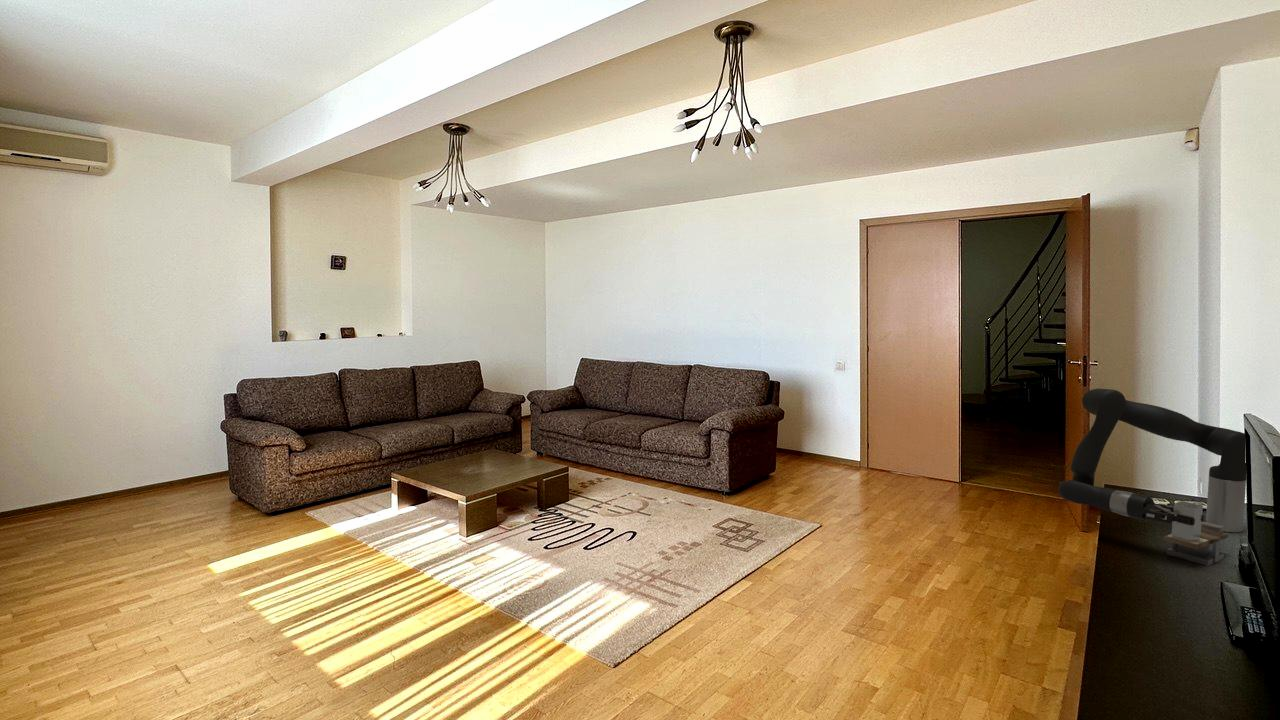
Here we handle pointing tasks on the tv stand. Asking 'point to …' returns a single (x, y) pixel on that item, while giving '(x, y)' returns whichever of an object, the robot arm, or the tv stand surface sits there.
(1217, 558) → the pivot stand
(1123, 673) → the tv stand surface
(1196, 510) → the weight block
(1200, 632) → the tv stand surface
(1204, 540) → the balance beam
